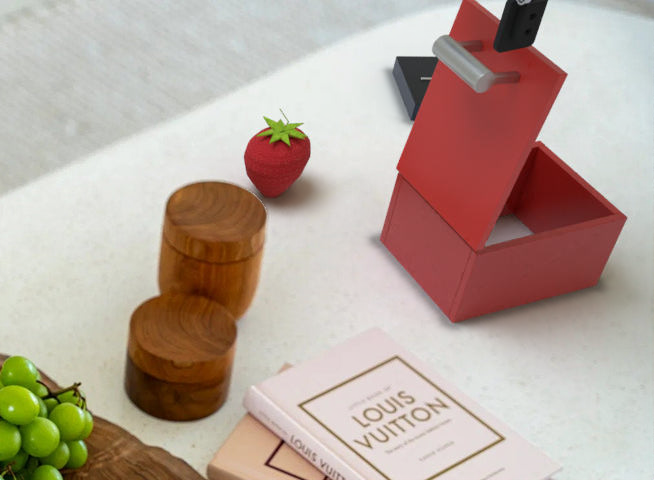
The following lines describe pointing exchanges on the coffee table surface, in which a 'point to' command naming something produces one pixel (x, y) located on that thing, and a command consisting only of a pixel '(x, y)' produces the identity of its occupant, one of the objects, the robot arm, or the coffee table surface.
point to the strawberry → (276, 156)
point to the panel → (413, 80)
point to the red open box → (508, 242)
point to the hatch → (477, 123)
